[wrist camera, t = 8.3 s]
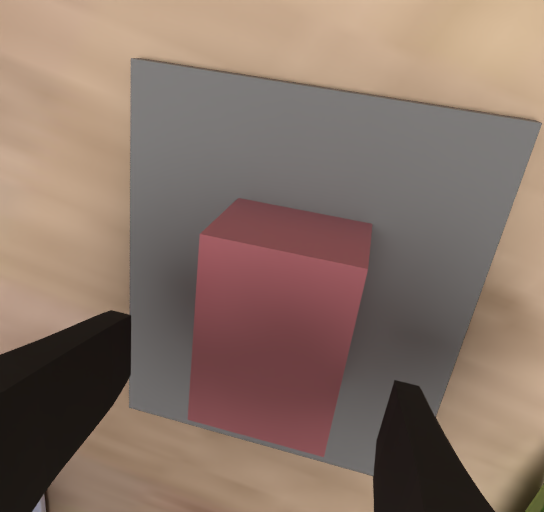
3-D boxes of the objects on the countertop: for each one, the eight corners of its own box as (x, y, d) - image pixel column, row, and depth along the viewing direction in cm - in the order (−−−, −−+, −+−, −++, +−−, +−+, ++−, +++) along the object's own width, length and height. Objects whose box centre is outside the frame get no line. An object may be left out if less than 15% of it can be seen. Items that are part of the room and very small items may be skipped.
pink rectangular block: (372, 223, 15) (368, 268, 12) (335, 384, 17) (323, 457, 14) (238, 198, 15) (199, 234, 12) (222, 356, 18) (187, 419, 15)
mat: (409, 474, 19) (410, 486, 18) (136, 398, 21) (129, 407, 20) (535, 120, 13) (542, 123, 13) (140, 58, 15) (130, 58, 14)
